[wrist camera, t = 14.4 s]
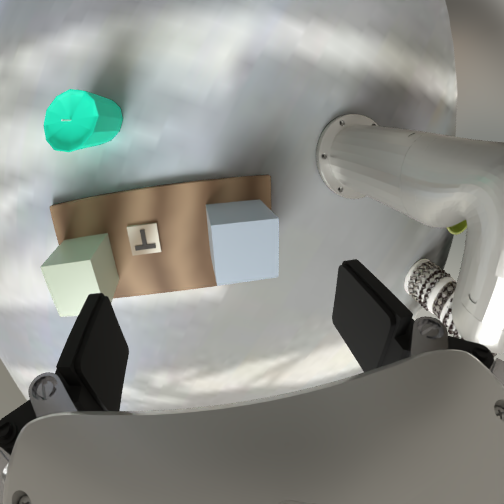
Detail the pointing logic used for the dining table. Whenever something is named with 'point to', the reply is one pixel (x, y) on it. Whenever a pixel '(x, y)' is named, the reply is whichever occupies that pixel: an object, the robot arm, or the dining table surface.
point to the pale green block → (80, 272)
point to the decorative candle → (433, 291)
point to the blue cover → (243, 241)
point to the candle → (81, 120)
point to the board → (157, 230)
